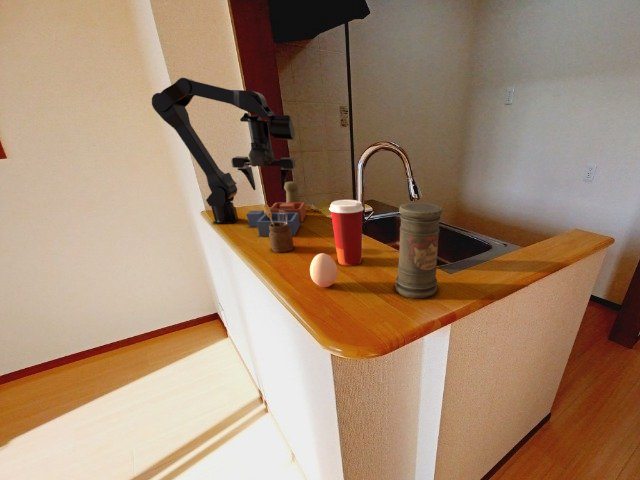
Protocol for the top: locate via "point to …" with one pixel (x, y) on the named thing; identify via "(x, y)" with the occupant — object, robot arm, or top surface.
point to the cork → (291, 192)
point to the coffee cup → (347, 230)
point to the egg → (323, 270)
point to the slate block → (254, 217)
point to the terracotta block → (287, 206)
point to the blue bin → (288, 217)
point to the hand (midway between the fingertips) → (268, 190)
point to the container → (418, 249)
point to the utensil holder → (279, 234)
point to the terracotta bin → (298, 209)
